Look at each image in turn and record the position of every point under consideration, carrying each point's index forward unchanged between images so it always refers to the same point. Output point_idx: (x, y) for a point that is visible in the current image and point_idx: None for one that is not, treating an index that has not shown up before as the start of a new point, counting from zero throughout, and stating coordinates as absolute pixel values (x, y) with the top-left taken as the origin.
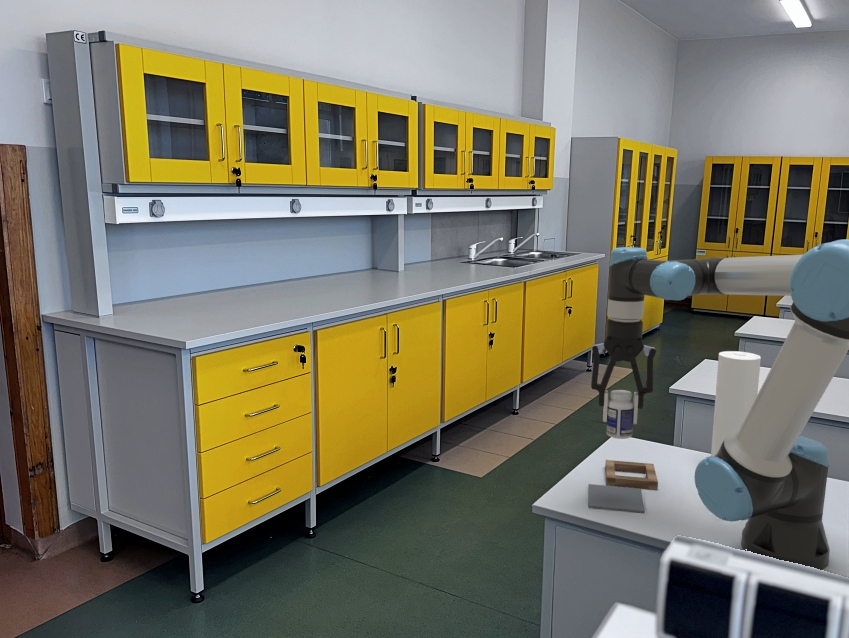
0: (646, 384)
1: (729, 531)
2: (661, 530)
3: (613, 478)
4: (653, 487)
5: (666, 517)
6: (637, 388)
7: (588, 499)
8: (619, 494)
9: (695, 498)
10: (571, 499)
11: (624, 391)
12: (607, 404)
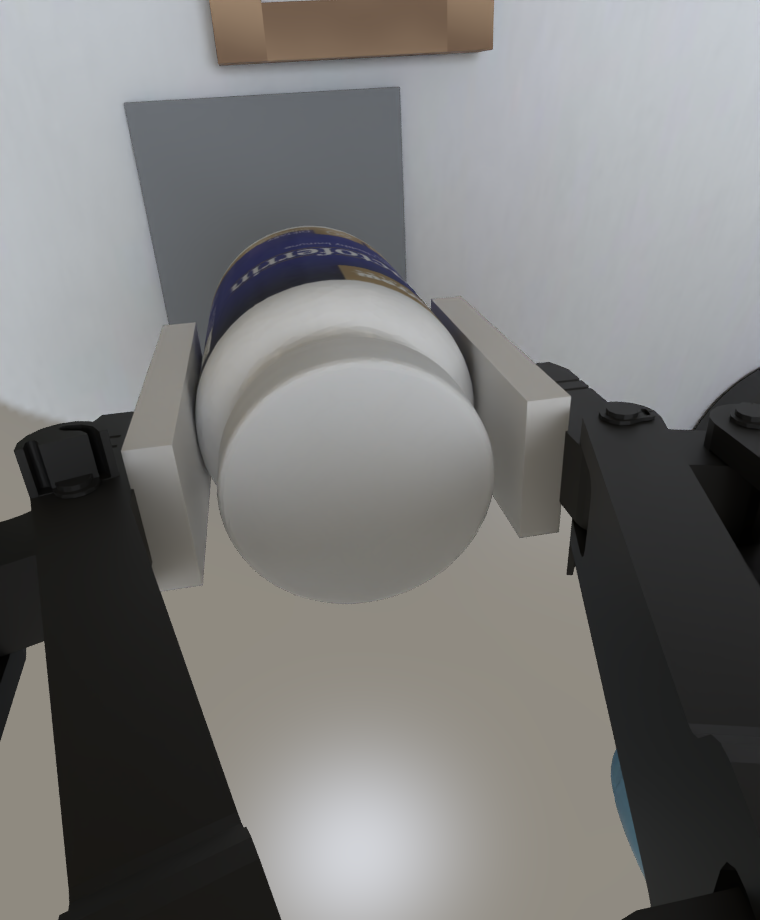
0: (739, 474)
1: (672, 385)
2: None
3: (256, 61)
4: (462, 52)
5: None
6: (582, 578)
7: (163, 296)
8: (297, 199)
9: (635, 106)
10: (85, 304)
11: (404, 433)
12: (207, 510)
